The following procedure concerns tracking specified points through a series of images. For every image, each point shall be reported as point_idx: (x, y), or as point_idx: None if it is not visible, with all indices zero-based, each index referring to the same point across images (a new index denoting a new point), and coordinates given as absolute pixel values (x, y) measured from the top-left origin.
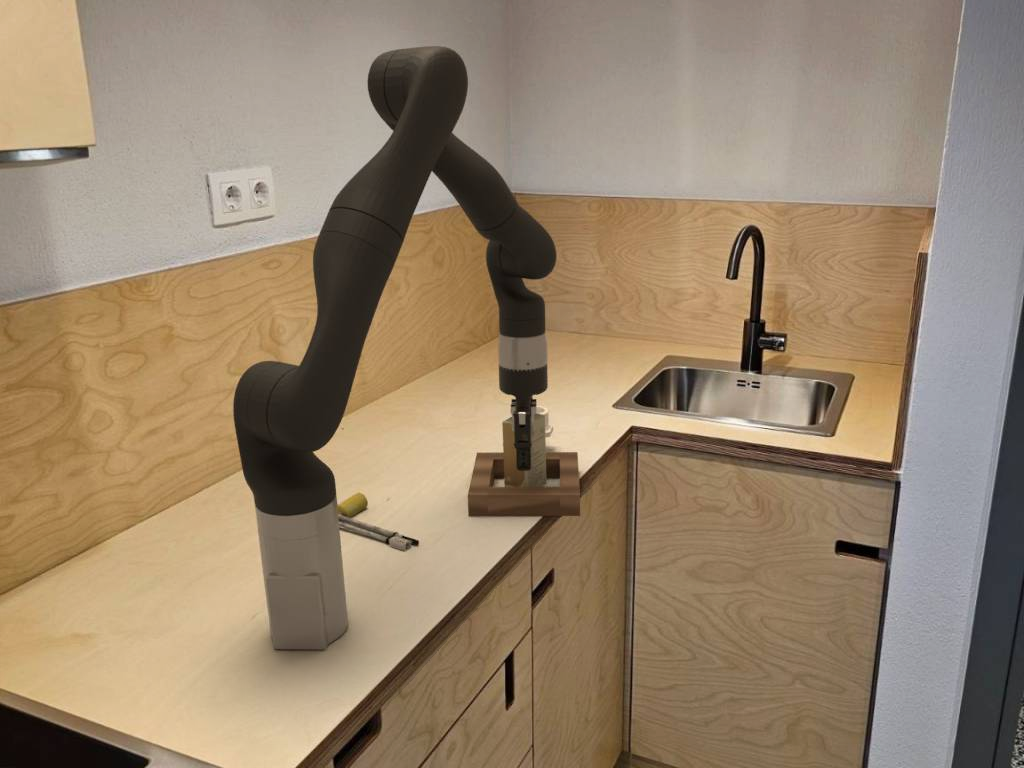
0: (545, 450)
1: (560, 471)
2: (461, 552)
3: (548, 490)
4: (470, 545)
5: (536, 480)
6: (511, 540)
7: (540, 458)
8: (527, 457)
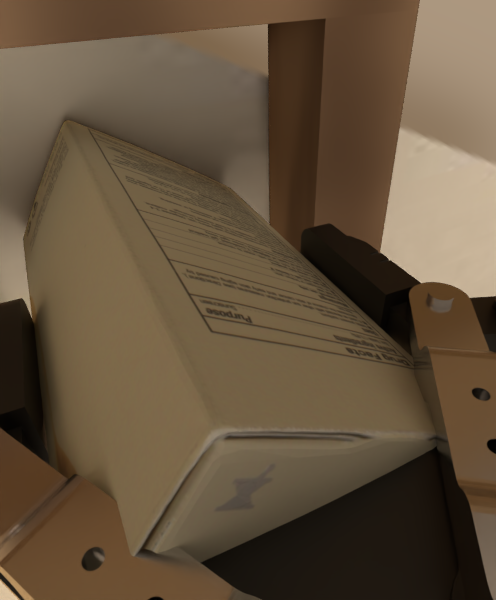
0: (109, 197)
1: (97, 34)
2: (487, 267)
3: (363, 85)
4: (465, 260)
5: (176, 175)
6: (471, 165)
7: (171, 204)
8: (397, 269)
